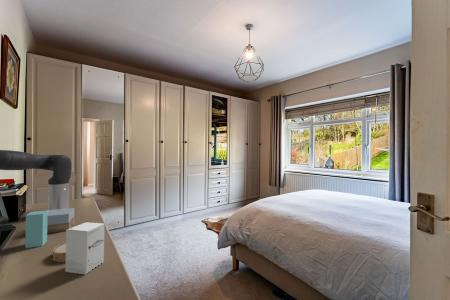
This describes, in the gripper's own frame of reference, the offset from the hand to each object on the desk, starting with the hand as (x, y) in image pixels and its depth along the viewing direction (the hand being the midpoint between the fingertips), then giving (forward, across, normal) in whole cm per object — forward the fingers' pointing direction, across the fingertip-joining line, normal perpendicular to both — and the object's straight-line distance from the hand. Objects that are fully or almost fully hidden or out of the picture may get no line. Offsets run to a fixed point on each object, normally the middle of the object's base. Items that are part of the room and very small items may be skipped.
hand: (6, 230), depth 80 cm
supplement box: (+29, -26, +7) cm, 39 cm away
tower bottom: (+11, +18, +7) cm, 22 cm away
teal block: (+9, 0, +6) cm, 11 cm away
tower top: (+11, +18, +3) cm, 21 cm away
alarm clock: (+25, -14, +7) cm, 30 cm away
